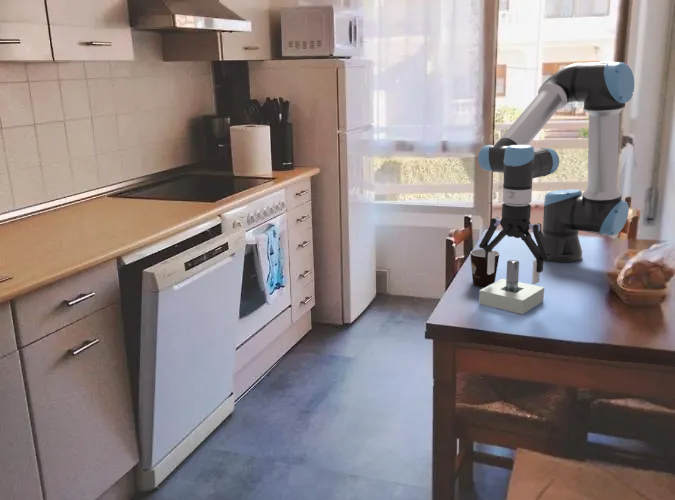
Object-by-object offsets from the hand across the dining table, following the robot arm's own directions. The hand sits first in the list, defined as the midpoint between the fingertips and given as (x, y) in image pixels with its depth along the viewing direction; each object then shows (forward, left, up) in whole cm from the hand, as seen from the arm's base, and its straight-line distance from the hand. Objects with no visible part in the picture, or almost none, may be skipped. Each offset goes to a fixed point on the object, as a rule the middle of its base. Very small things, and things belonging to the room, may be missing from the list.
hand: (512, 278), depth 176 cm
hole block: (0, 0, -7) cm, 7 cm away
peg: (0, 0, -7) cm, 7 cm away
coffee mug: (-10, -15, -7) cm, 19 cm away
